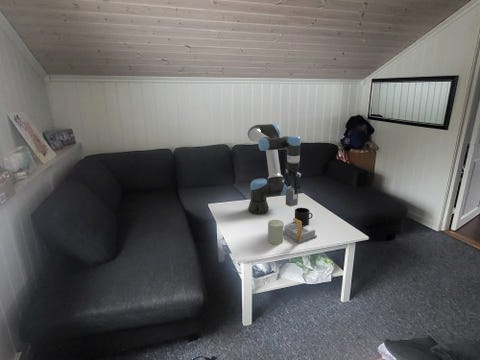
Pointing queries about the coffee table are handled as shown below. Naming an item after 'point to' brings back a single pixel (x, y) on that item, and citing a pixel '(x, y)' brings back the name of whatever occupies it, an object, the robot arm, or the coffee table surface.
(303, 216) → the mug
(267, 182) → the robot arm
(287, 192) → the dark gray box
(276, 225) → the can
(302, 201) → the coffee table surface
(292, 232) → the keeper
